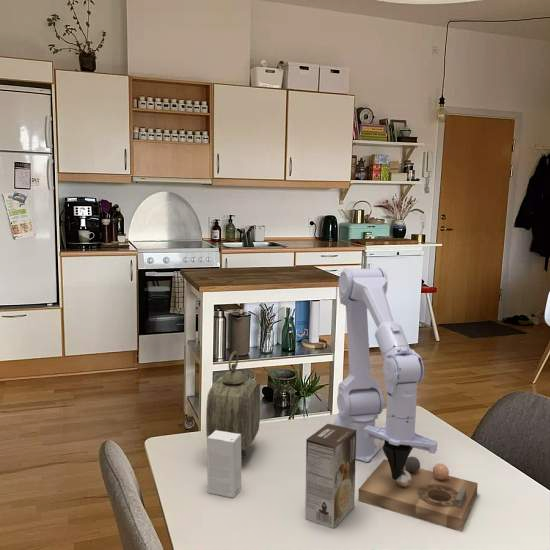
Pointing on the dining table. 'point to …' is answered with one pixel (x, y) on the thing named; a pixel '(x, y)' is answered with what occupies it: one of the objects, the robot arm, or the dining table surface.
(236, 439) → the skincare box
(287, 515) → the dining table surface
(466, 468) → the dining table surface
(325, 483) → the coffee box
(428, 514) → the bore plate
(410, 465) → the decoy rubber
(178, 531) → the dining table surface
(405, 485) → the steel ball
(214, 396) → the ribbed lantern with ring
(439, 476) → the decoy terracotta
